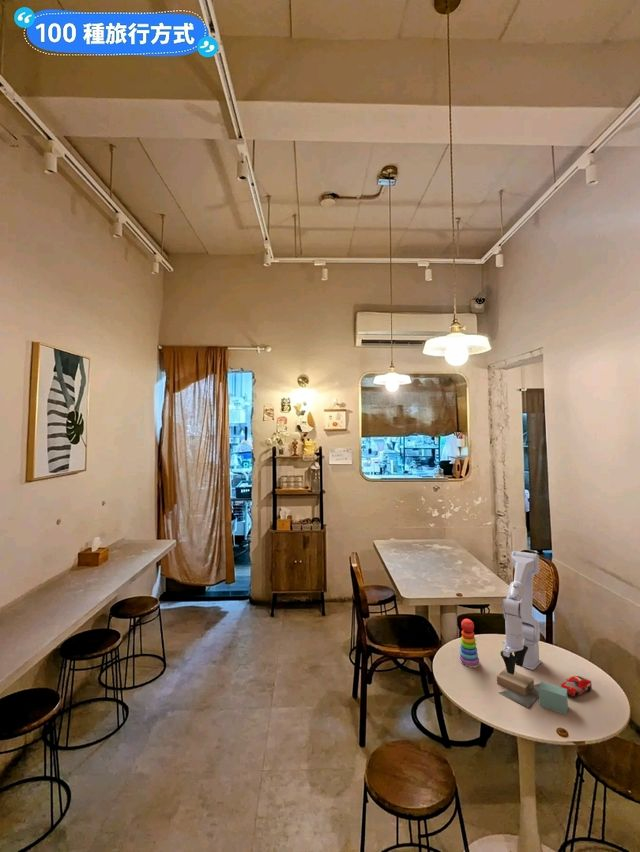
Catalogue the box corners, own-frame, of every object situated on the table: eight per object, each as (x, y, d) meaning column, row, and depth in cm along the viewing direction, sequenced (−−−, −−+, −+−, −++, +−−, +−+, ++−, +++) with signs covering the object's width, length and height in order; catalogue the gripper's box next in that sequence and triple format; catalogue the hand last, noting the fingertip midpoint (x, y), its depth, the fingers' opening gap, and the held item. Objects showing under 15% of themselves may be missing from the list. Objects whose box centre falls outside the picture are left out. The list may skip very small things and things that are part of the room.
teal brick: (541, 698, 141) (540, 681, 141) (567, 707, 136) (567, 689, 136) (539, 705, 137) (538, 687, 137) (566, 715, 132) (565, 696, 132)
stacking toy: (462, 658, 167) (461, 613, 168) (482, 664, 162) (480, 618, 163) (456, 667, 160) (455, 620, 161) (477, 673, 156) (475, 625, 157)
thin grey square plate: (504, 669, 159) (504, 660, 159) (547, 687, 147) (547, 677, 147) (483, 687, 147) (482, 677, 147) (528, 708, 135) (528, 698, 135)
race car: (572, 699, 139) (572, 687, 139) (557, 690, 144) (557, 679, 144) (595, 690, 145) (595, 679, 145) (579, 682, 149) (579, 671, 150)
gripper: (511, 622, 156) (512, 658, 155) (494, 634, 146) (495, 672, 145) (530, 628, 150) (531, 665, 150) (514, 641, 141) (515, 680, 140)
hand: (514, 669), depth 147 cm, fingers open, 7 cm apart
